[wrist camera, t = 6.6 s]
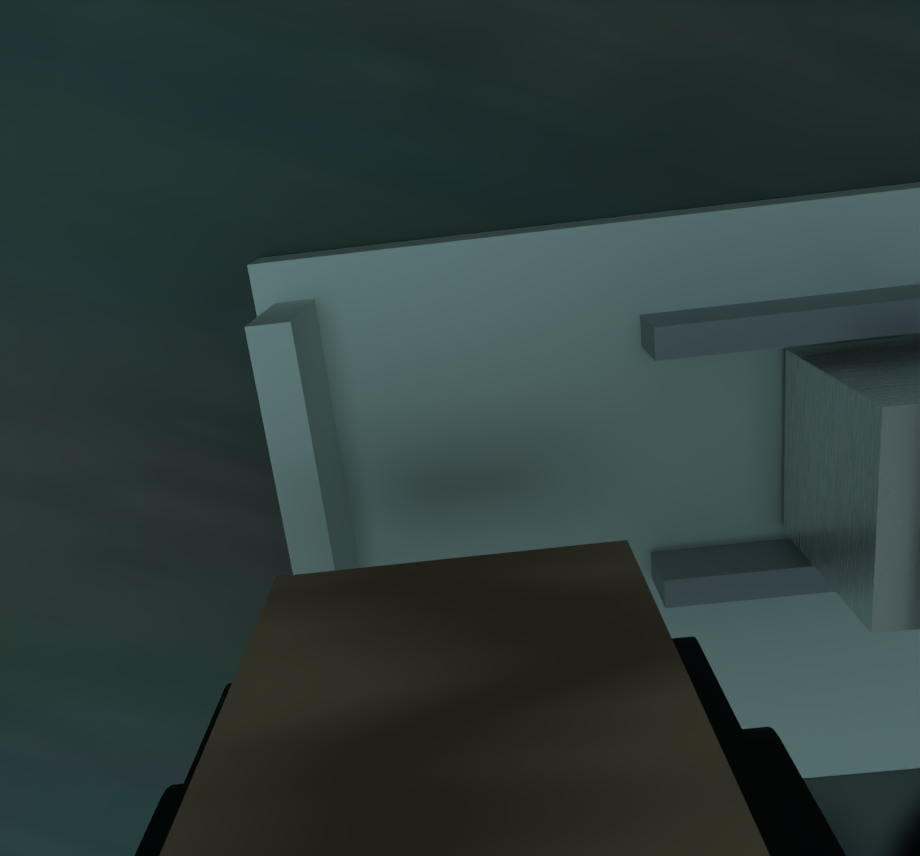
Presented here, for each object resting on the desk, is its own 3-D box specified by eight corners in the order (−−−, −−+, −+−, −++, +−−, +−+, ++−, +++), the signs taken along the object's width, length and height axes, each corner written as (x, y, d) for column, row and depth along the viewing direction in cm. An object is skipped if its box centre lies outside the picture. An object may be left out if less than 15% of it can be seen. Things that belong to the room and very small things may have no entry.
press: (939, 179, 21) (2183, 246, 6) (901, 752, 27) (1489, 1552, 11) (261, 257, 22) (-211, 499, 6) (362, 800, 27) (234, 1617, 12)
